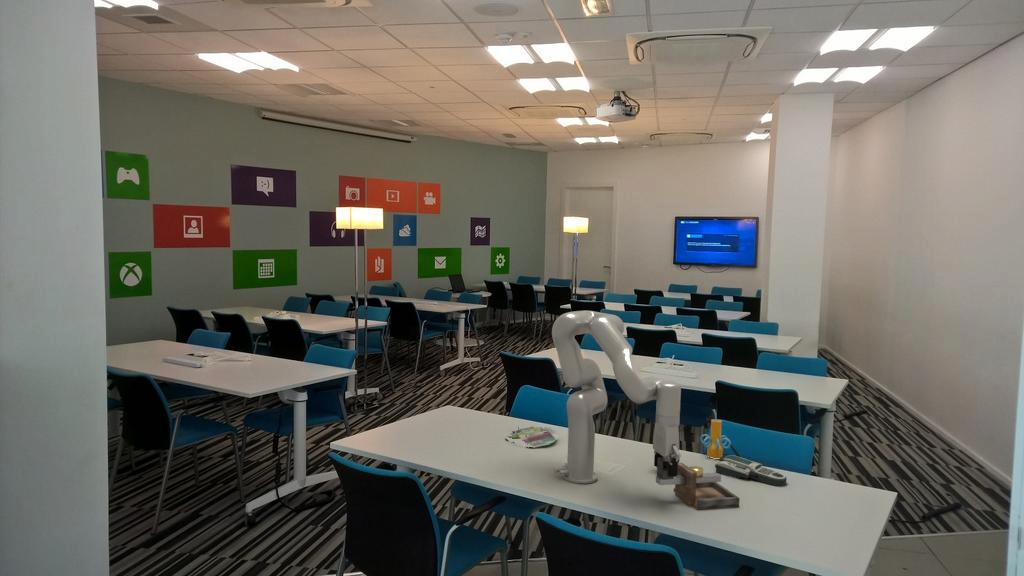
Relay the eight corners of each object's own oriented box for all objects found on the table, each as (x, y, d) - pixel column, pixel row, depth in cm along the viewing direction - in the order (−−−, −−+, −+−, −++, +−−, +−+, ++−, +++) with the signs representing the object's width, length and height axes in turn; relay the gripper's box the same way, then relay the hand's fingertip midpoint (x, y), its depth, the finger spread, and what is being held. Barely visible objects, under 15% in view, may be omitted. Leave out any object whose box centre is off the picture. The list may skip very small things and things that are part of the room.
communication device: (779, 491, 221) (780, 467, 221) (713, 473, 237) (715, 450, 237) (790, 482, 230) (792, 459, 230) (726, 465, 246) (728, 443, 246)
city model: (492, 442, 275) (491, 428, 274) (534, 427, 288) (533, 415, 287) (528, 459, 255) (527, 445, 254) (571, 443, 268) (570, 429, 267)
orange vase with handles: (711, 463, 248) (713, 425, 247) (694, 454, 258) (695, 418, 257) (735, 459, 253) (737, 422, 252) (717, 451, 263) (719, 416, 262)
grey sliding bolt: (660, 485, 205) (661, 461, 205) (655, 481, 209) (656, 457, 209) (721, 482, 210) (722, 458, 210) (715, 477, 214) (716, 454, 214)
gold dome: (693, 478, 208) (693, 471, 207) (686, 473, 212) (687, 466, 212) (705, 477, 209) (705, 470, 208) (698, 472, 213) (699, 465, 213)
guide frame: (694, 510, 202) (695, 476, 201) (670, 491, 218) (672, 459, 217) (739, 507, 206) (740, 473, 205) (712, 488, 221) (714, 457, 220)
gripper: (645, 413, 214) (643, 462, 215) (669, 427, 197) (666, 481, 198) (666, 412, 216) (663, 461, 217) (691, 426, 199) (688, 480, 200)
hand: (665, 471), depth 208 cm, fingers open, 9 cm apart
